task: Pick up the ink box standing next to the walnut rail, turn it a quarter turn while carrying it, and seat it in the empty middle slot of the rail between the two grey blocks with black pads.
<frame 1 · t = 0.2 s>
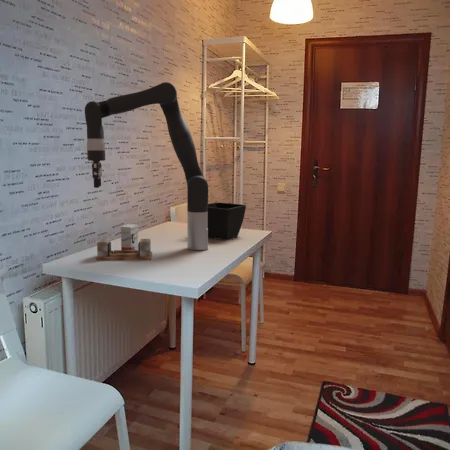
hand: (97, 187, 195), 28 cm above the table, fingers open, 8 cm apart
rail: (124, 257, 185), on the table
ink box: (130, 252, 196), on the table
flower pot: (221, 237, 233), on the table
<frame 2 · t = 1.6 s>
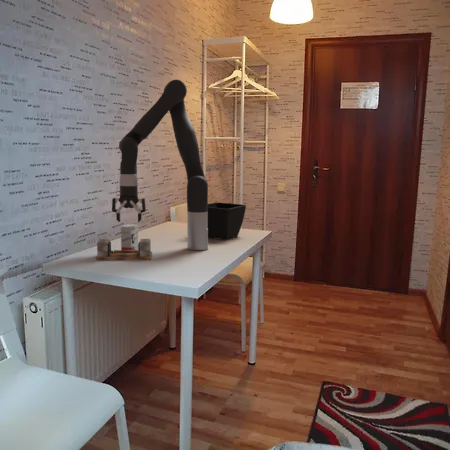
hand: (129, 221, 194), 13 cm above the table, fingers open, 8 cm apart
nothing on the table moved.
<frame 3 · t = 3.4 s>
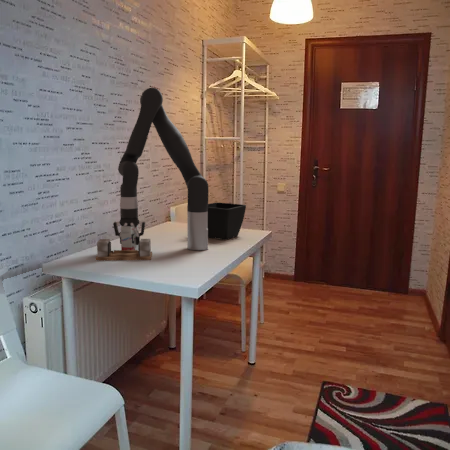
hand: (129, 244, 196), 3 cm above the table, fingers closed on ink box, 5 cm apart
ink box: (130, 252, 196), on the table, touching gripper
everything else where it was.
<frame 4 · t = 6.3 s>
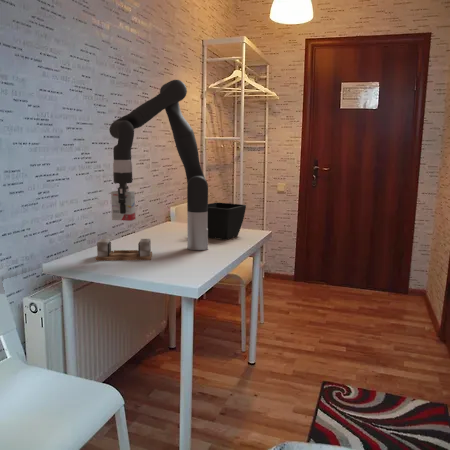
hand: (123, 212, 182), 19 cm above the table, fingers closed on ink box, 5 cm apart
ink box: (124, 220, 183), point 16 cm above the table, touching gripper
everything else where it was.
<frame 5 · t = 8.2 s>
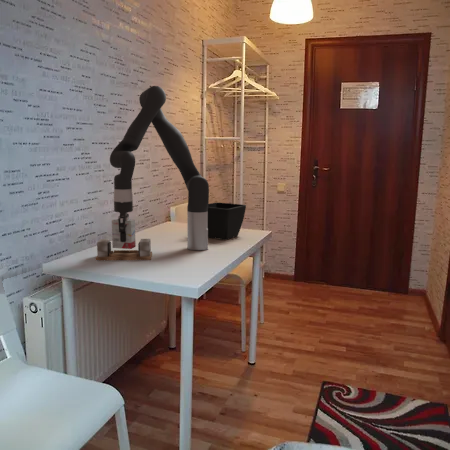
hand: (124, 240, 184), 7 cm above the table, fingers closed on ink box, 5 cm apart
ink box: (124, 248, 185), point 4 cm above the table, touching gripper
everything else where it was.
when the fingers open (5 cm above the table, at t = 9.6 s): ink box stays where it is, resting on rail.
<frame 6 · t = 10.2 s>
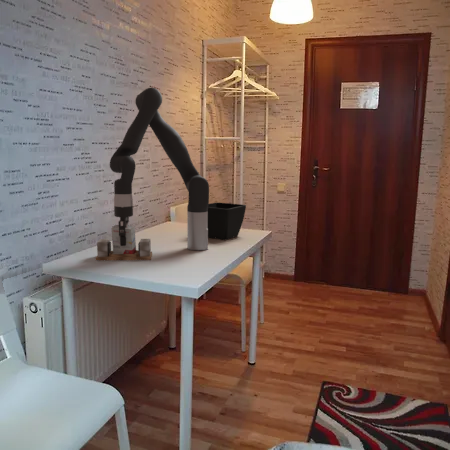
hand: (124, 243, 184), 6 cm above the table, fingers open, 8 cm apart
ink box: (124, 253, 185), point 2 cm above the table, touching gripper, rail
everything else where it was.
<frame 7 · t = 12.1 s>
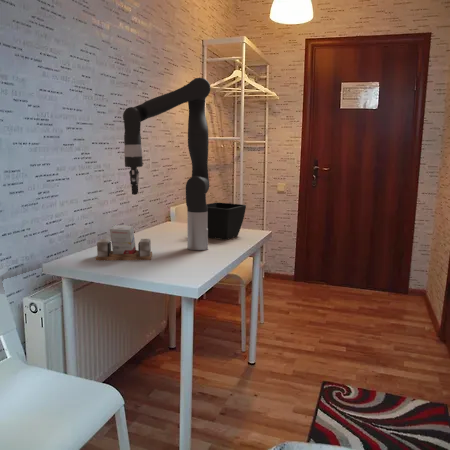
hand: (135, 193, 192), 26 cm above the table, fingers open, 8 cm apart
ink box: (124, 253, 185), point 2 cm above the table, touching rail
everything else where it was.
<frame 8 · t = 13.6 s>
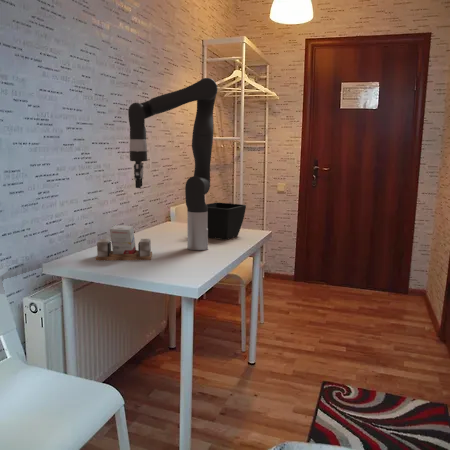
hand: (139, 187, 197), 28 cm above the table, fingers open, 8 cm apart
nothing on the table moved.
at the end: ink box 0.2 cm from the rail (horizontally); ink box tilted 13°; ink box touching rail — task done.
